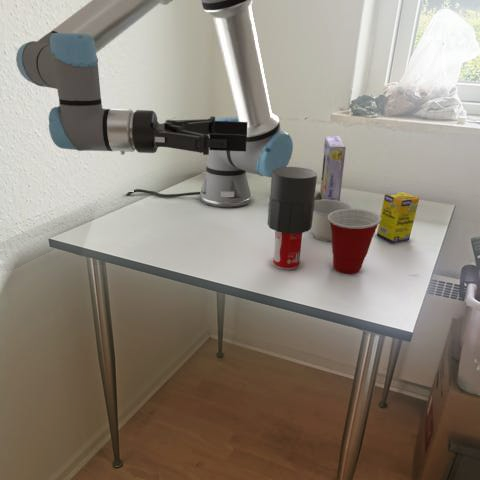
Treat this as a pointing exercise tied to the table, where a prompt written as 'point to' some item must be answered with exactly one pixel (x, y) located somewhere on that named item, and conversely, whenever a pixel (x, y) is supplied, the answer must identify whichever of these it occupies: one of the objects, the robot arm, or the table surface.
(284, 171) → the dark grey cup
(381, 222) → the supplement box
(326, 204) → the teacup
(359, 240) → the plastic cup
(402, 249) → the table surface
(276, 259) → the beverage can
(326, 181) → the cake pan box
